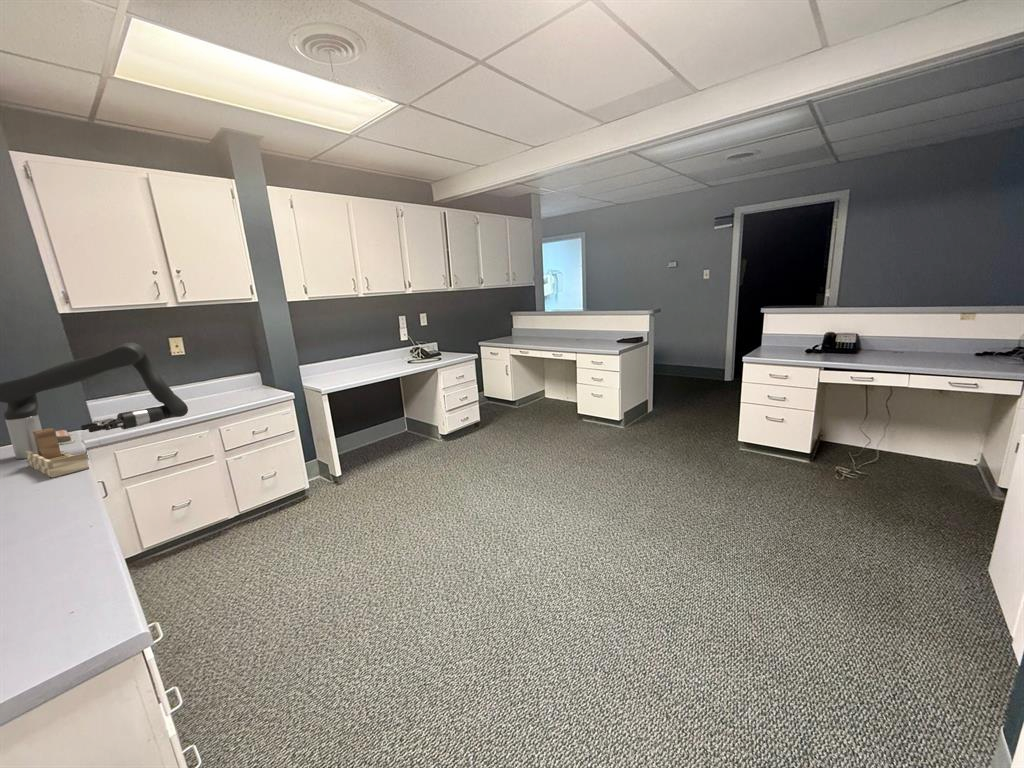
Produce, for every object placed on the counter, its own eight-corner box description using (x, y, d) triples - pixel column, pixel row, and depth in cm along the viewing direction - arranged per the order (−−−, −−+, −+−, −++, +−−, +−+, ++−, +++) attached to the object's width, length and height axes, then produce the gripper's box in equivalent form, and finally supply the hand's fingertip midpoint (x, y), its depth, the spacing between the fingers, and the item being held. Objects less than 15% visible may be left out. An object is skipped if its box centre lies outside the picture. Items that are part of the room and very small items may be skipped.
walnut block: (41, 465, 166) (32, 431, 164) (59, 461, 170) (50, 428, 168) (45, 467, 164) (36, 433, 161) (63, 462, 168) (54, 429, 165)
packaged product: (40, 432, 201) (70, 427, 209) (43, 442, 202) (72, 437, 210) (42, 439, 190) (73, 433, 197) (45, 449, 191) (76, 443, 198)
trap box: (29, 466, 166) (25, 451, 165) (64, 458, 175) (61, 443, 173) (52, 478, 152) (47, 461, 151) (89, 468, 161) (85, 453, 160)
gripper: (125, 409, 191) (76, 419, 177) (138, 412, 184) (89, 421, 170) (129, 425, 193) (81, 435, 179) (142, 428, 186) (93, 439, 172)
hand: (85, 429), depth 175 cm, fingers open, 8 cm apart
